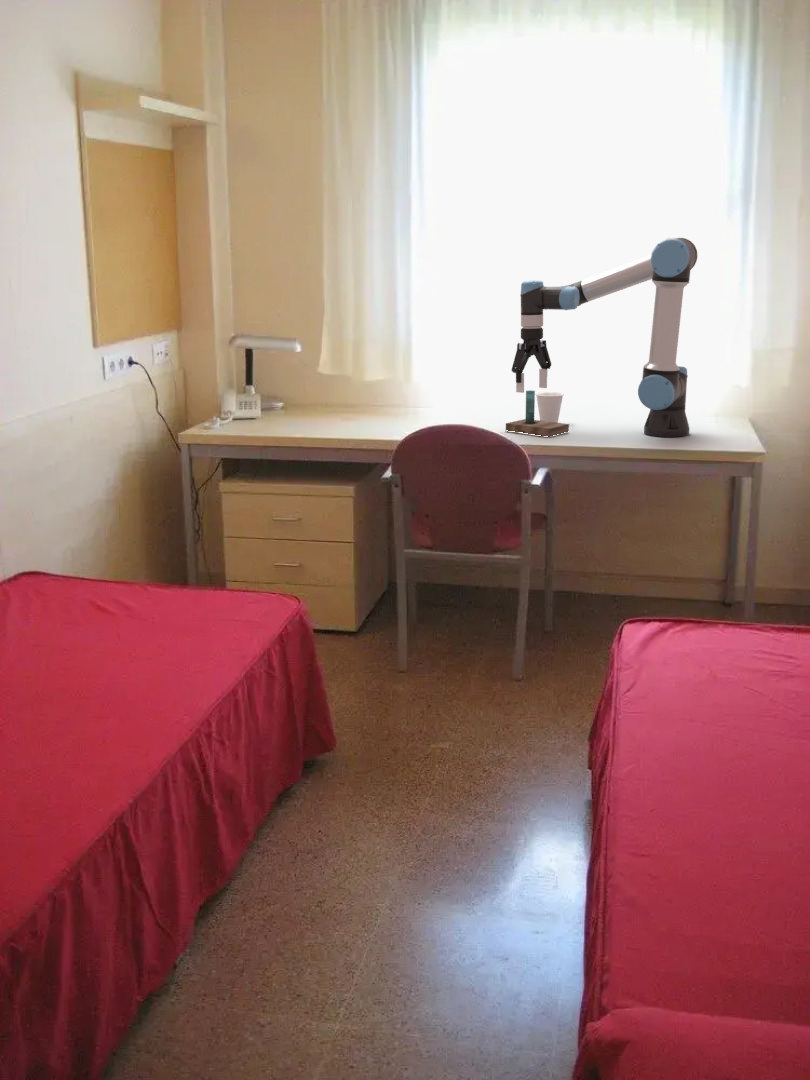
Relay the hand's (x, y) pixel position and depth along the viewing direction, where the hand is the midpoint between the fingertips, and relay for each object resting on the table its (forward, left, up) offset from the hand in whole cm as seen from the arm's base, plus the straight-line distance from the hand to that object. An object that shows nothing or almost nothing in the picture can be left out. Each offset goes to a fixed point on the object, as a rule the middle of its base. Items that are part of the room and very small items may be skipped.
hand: (531, 390), depth 395 cm
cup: (+3, -16, -15) cm, 22 cm away
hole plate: (-3, 0, -14) cm, 15 cm away
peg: (0, 0, -14) cm, 14 cm away
